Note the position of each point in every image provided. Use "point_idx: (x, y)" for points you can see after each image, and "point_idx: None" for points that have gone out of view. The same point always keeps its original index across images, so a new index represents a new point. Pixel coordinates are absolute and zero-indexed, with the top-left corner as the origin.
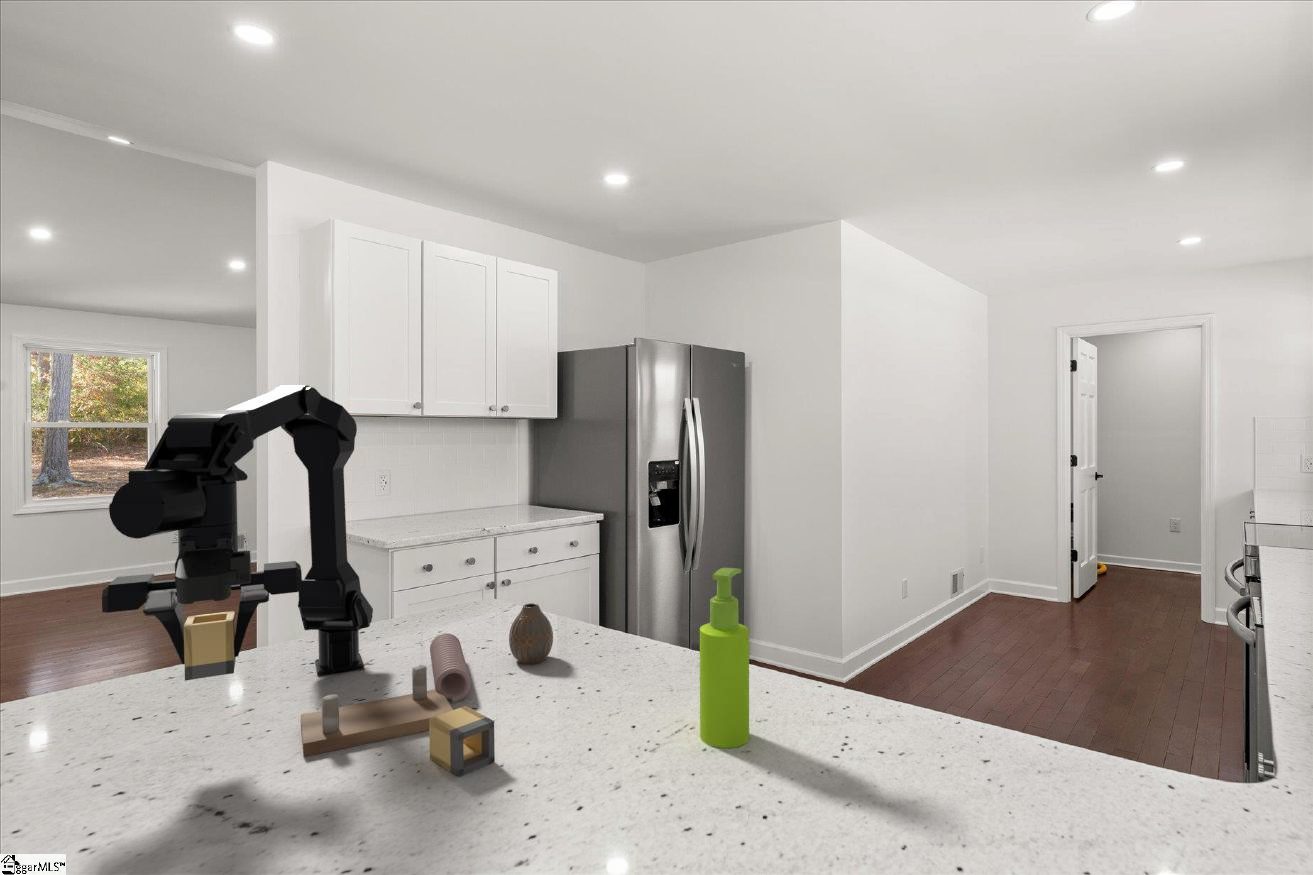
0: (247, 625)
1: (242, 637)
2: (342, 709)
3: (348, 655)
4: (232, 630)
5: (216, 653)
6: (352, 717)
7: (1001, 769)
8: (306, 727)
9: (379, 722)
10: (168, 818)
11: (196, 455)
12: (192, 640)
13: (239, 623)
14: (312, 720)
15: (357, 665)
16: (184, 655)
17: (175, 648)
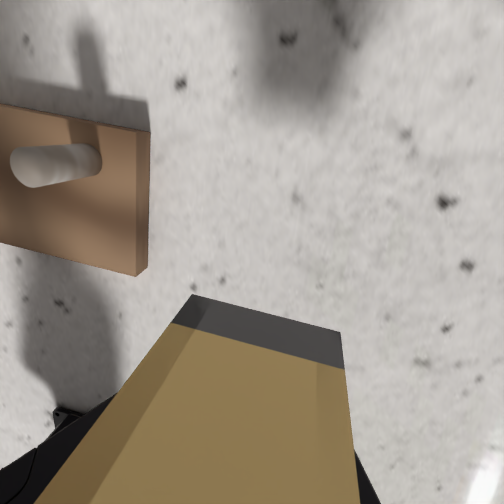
0: (11, 465)
1: (90, 416)
2: (70, 248)
3: (55, 432)
4: (79, 445)
5: (216, 366)
6: (53, 199)
7: None
8: (128, 210)
9: (7, 137)
10: (404, 4)
11: None
12: (311, 483)
13: (29, 498)
14: (118, 236)
15: (61, 414)
16: (348, 415)
17: (377, 497)
